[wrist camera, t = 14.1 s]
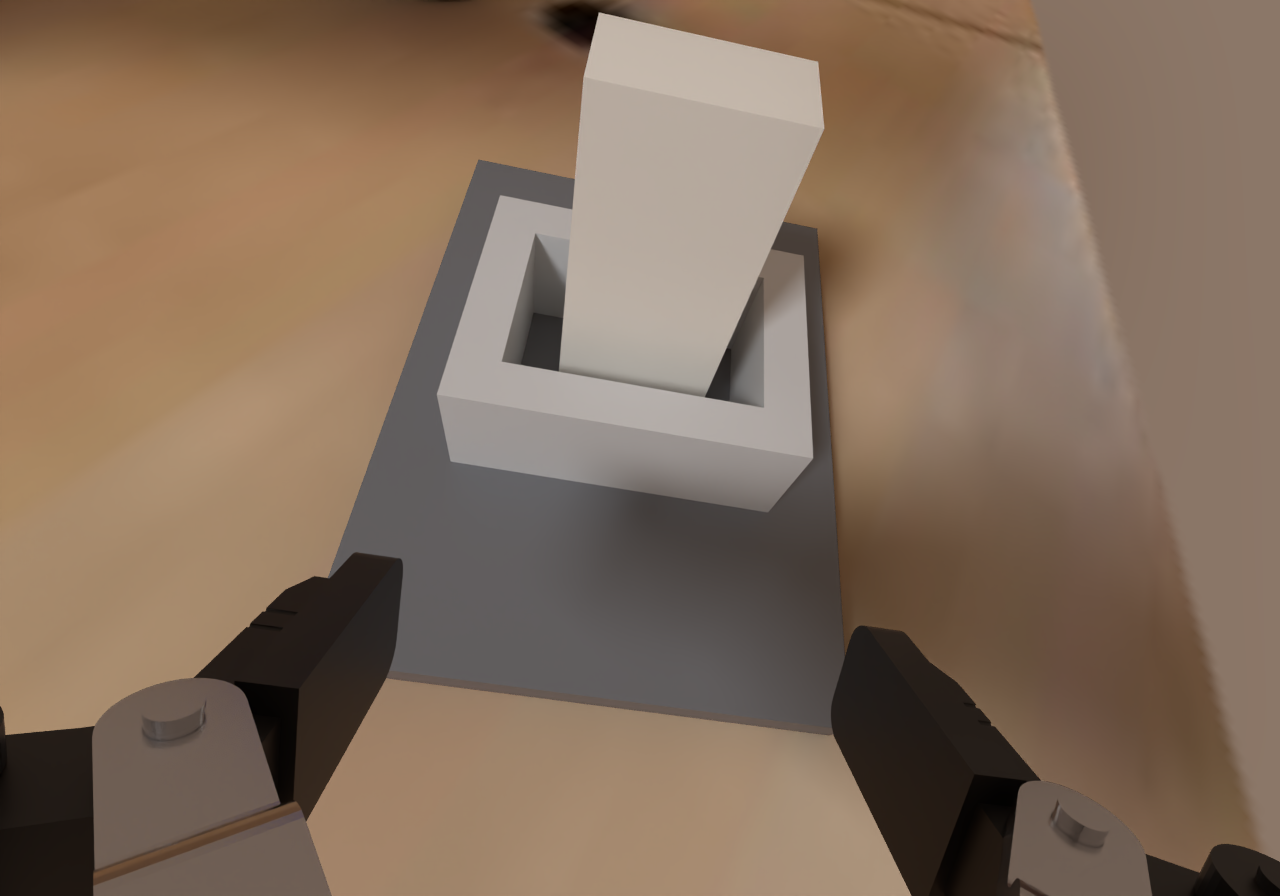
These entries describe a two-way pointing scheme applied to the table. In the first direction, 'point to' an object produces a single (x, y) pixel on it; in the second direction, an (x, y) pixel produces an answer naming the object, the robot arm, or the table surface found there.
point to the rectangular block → (677, 197)
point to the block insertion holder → (607, 491)
